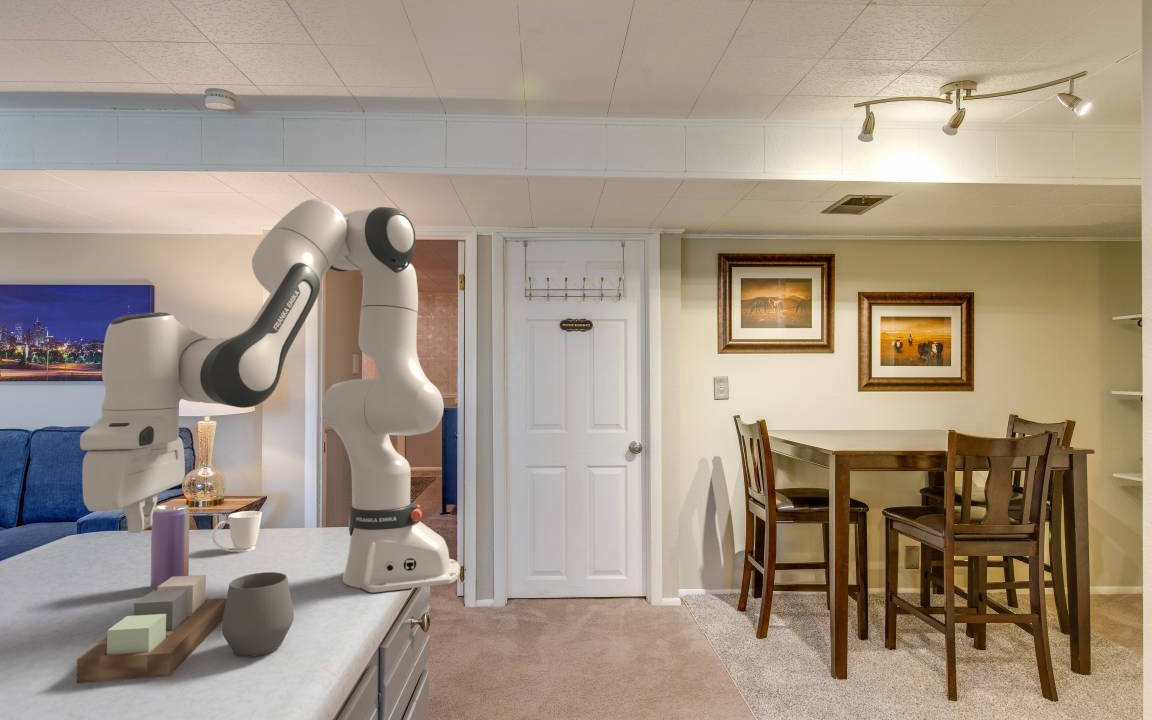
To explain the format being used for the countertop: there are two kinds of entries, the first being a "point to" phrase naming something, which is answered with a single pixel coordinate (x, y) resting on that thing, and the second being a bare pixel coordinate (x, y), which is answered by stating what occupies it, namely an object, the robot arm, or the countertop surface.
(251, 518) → the cup
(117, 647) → the sage key
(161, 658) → the wooden tray
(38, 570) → the countertop surface
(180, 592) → the graphite key
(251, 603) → the cup
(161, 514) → the beverage can
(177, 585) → the ivory key
